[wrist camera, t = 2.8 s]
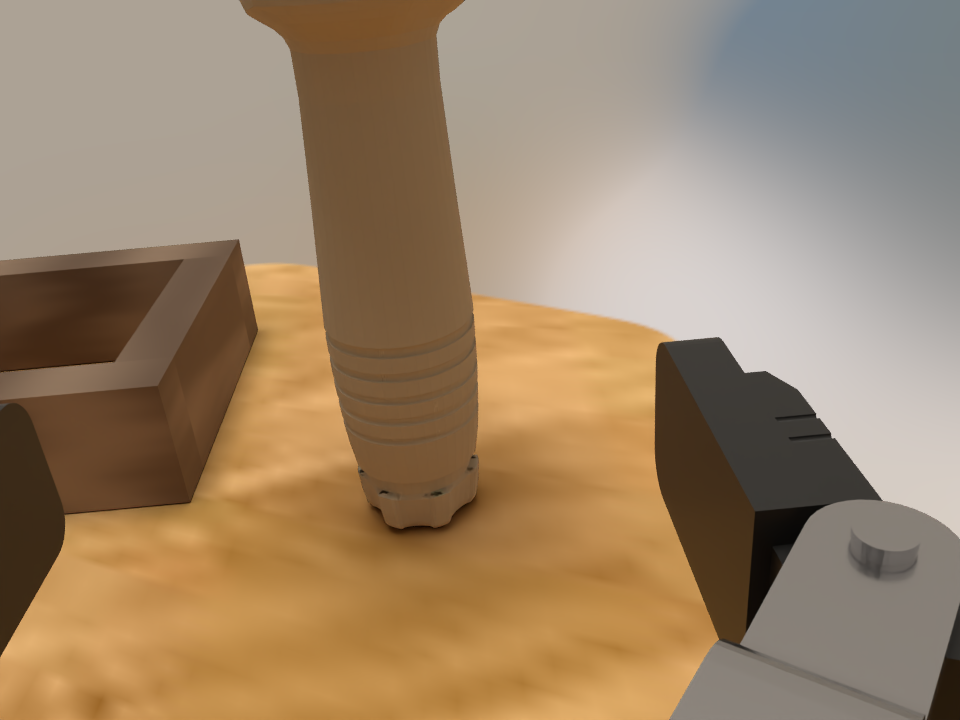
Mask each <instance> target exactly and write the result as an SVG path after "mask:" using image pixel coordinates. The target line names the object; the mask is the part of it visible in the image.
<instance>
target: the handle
mask: <svg viewBox="0 0 960 720" xmlns="http://www.w3.org/2000/svg"><path fill="white" fill-rule="evenodd" d="M464 1H465V0H240V2H241V4H242V6H243V8H244V10H245V12H246V13H247V14H248V15H249V16H251V17H252V18H254V19H256V20H257V21H259V22H261V23H263V24H265V25H267V26H268V27H270V28H272V29H274V30H275V31H276V32H277V33H278V34H279V35H281V36H282V37H283V38H284V40H285V42H286V43H287V45H288V47H289V48H290V51H291V57H292V62H293V69H294V74H295V80H296V85H297V91H298V97H299V105H300V113H301V122H302V131H303V139H304V148H305V156H306V165H307V173H308V182H309V191H310V199H311V207H312V217H313V226H314V235H315V245H316V255H317V264H318V274H319V283H320V292H321V302H322V311H323V320H324V328H325V330H326V340H327V345H328V351H329V354H330V362H331V367H332V372H333V376H334V382H335V387H336V391H337V395H338V397H339V403H340V407H341V412H342V416H343V418H344V424H345V427H346V430H347V434H348V437H349V441H350V444H351V446H352V449H353V452H354V454H355V457H356V460H357V462H358V465H359V466H358V472H359V476H360V479H361V483H362V487H363V490H364V492H365V495H366V497H367V500H368V502H369V503H370V504H371V505H373V506H375V507H378V508H379V509H381V511H382V514H383V517H384V521H385V522H386V524H388V525H389V526H392V527H395V528H398V529H403V528H405V527H409V526H417V525H426V526H432V527H434V528H437V527H440V526H443V525H446V524H448V523H449V522H450V520H451V517H452V515H453V514H454V513H455V512H456V510H458V509H459V508H460V507H461V506H463V505H464V504H466V503H469V502H471V501H472V499H473V498H474V497H475V495H476V492H477V485H478V470H479V460H478V456H477V455H473V453H474V452H475V448H476V438H477V428H478V382H477V377H478V376H477V358H476V357H477V353H476V340H475V326H474V314H473V302H472V296H471V289H470V282H469V276H468V270H467V262H466V256H465V249H464V243H463V236H462V229H461V222H460V216H459V209H458V202H457V196H456V189H455V183H454V175H453V169H452V162H451V154H450V147H449V140H448V133H447V126H446V118H445V111H444V104H443V97H442V91H441V83H440V73H439V62H438V50H437V38H436V34H437V31H438V27H439V24H440V22H441V21H442V19H444V17H445V16H446V15H447V14H449V13H450V12H452V11H453V10H455V9H456V8H457V7H458V6H459V5H460V4H462V3H463V2H464Z"/></svg>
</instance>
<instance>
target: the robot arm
mask: <svg viewBox="0 0 960 720" xmlns="http://www.w3.org/2000/svg"><path fill="white" fill-rule="evenodd" d="M655 461H656V470H657V476H658V481H659V486H660V490H661V493H662V496H663V499H664V502H665V504H666V507H667V509H668V512H669V514H670V517H671V519H672V522H673V524H674V527H675V529H676V532H677V534H678V537H679V539H680V542H681V544H682V547H683V549H684V552H685V554H686V557H687V560H688V562H689V565H690V567H691V570H692V572H693V575H694V577H695V580H696V582H697V585H698V587H699V590H700V592H701V595H702V597H703V600H704V602H705V605H706V607H707V610H708V612H709V615H710V617H711V620H712V622H713V625H714V627H715V630H716V632H717V635H718V638H719V640H718V641H717V642H716V643H715V644H714V645H713V646H712V648H711V649H710V650H709V652H708V653H707V655H706V657H705V658H704V660H703V662H702V663H701V665H700V667H699V669H698V670H697V672H696V674H695V676H694V677H693V679H692V681H691V683H690V684H689V686H688V688H687V690H686V691H685V693H684V695H683V697H682V698H681V700H680V702H679V703H678V705H677V707H676V709H675V710H674V712H673V714H672V716H671V717H670V719H669V720H960V539H959V538H958V537H957V535H956V534H954V533H953V532H952V531H951V530H950V529H949V528H948V527H946V526H945V525H944V524H942V523H941V522H939V521H938V520H936V519H934V518H932V517H931V516H929V515H927V514H925V513H922V512H920V511H918V510H915V509H912V508H909V507H906V506H903V505H899V504H895V503H891V502H885V501H883V500H881V498H880V497H879V495H878V494H877V493H876V492H875V490H874V489H873V487H872V486H871V485H870V484H869V482H868V481H867V480H866V478H865V477H864V476H863V474H862V473H861V472H860V470H859V469H858V468H857V466H856V465H855V464H854V463H853V461H852V460H851V459H850V457H849V456H848V455H847V454H846V452H845V451H844V450H843V448H842V447H841V446H840V444H839V443H838V442H837V440H836V439H835V438H834V439H832V438H831V433H830V431H829V430H828V429H827V427H826V426H825V425H824V423H823V422H822V421H821V420H820V418H818V419H817V418H816V413H815V412H814V410H813V409H812V408H811V406H810V405H809V404H808V402H807V401H806V400H805V399H804V397H803V396H802V395H801V393H800V392H799V391H798V390H797V389H795V388H794V387H792V386H790V385H789V384H787V383H785V382H783V381H782V380H780V379H778V378H777V377H775V376H773V375H771V374H770V373H768V372H766V371H763V372H751V373H744V372H743V370H742V369H741V367H740V366H739V364H738V363H737V361H736V360H735V358H734V357H733V355H732V354H731V352H730V351H729V349H728V348H727V346H726V345H725V343H724V342H723V341H722V339H720V338H719V337H718V338H717V337H715V338H705V339H694V340H684V341H673V342H663V343H660V344H659V346H658V349H657V355H656V393H655ZM64 534H65V516H64V510H63V505H62V502H61V499H60V496H59V493H58V491H57V488H56V485H55V483H54V480H53V477H52V474H51V472H50V469H49V466H48V463H47V461H46V458H45V455H44V452H43V450H42V447H41V444H40V441H39V439H38V436H37V433H36V430H35V428H34V425H33V422H32V420H31V418H30V416H29V414H28V412H27V411H26V410H25V409H24V408H23V407H22V406H21V405H19V404H17V403H6V404H0V657H1V655H2V653H3V651H4V649H5V648H6V646H7V644H8V642H9V641H10V639H11V637H12V635H13V634H14V632H15V630H16V628H17V627H18V625H19V623H20V621H21V620H22V618H23V616H24V614H25V613H26V611H27V609H28V607H29V606H30V604H31V602H32V600H33V599H34V597H35V595H36V593H37V592H38V590H39V588H40V586H41V585H42V583H43V581H44V579H45V578H46V576H47V574H48V572H49V571H50V569H51V567H52V565H53V564H54V562H55V560H56V558H57V557H58V555H59V553H60V551H61V548H62V545H63V540H64Z"/></svg>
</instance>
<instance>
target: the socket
mask: <svg viewBox="0 0 960 720" xmlns="http://www.w3.org/2000/svg"><path fill="white" fill-rule="evenodd" d="M257 331H258V328H257V323H256V319H255V314H254V309H253V304H252V300H251V295H250V290H249V286H248V281H247V276H246V271H245V267H244V262H243V258H242V253H241V248H240V243H239V240H227V241H216V242H205V243H193V244H183V245H171V246H160V247H149V248H137V249H127V250H116V251H103V252H92V253H81V254H70V255H59V256H47V257H36V258H25V259H14V260H3V261H0V371H6V370H17V369H28V368H39V367H50V366H61V365H72V364H83V363H95V362H106V361H115V362H113V363H102V364H91V365H80V366H69V367H58V368H47V369H36V370H25V371H14V372H3V373H0V404H6V403H17V404H19V405H21V406H22V407H23V408H24V409H25V410H26V411H27V412H28V414H29V416H30V418H31V420H32V422H33V425H34V428H35V430H36V433H37V436H38V439H39V441H40V444H41V447H42V450H43V452H44V455H45V458H46V461H47V463H48V466H49V469H50V472H51V474H52V477H53V480H54V483H55V485H56V488H57V491H58V493H59V496H60V499H61V502H62V505H63V510H64V514H65V513H76V512H87V511H98V510H109V509H119V508H130V507H141V506H152V505H162V504H173V503H184V502H190V501H191V498H192V496H193V493H194V491H195V488H196V486H197V483H198V481H199V478H200V475H201V473H202V470H203V468H204V465H205V463H206V460H207V458H208V455H209V453H210V450H211V448H212V445H213V442H214V440H215V437H216V435H217V432H218V430H219V427H220V425H221V422H222V420H223V417H224V414H225V412H226V409H227V407H228V404H229V402H230V399H231V397H232V394H233V392H234V389H235V386H236V384H237V381H238V379H239V376H240V374H241V371H242V369H243V366H244V364H245V361H246V359H247V356H248V353H249V351H250V348H251V346H252V343H253V341H254V338H255V336H256V333H257Z"/></svg>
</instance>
